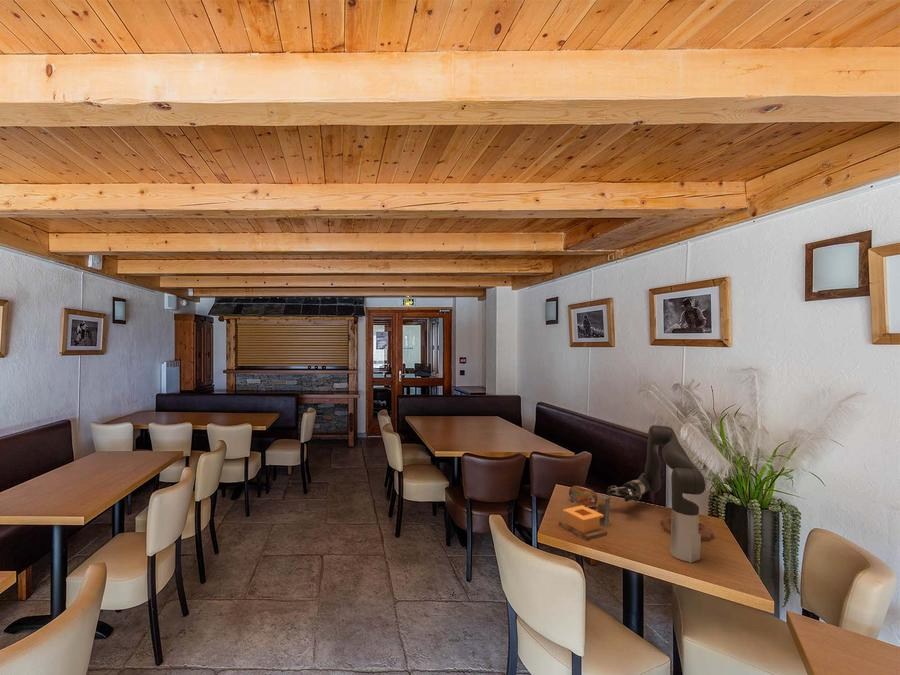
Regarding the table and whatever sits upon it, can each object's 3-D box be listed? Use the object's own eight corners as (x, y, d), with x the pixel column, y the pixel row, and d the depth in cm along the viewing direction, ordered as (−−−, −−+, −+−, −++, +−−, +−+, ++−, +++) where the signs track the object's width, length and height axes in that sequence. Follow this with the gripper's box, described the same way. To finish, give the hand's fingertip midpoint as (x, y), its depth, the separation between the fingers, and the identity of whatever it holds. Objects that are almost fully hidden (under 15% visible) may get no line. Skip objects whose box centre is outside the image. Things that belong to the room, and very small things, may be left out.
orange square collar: (603, 529, 183) (603, 514, 183) (583, 534, 177) (583, 519, 177) (581, 518, 194) (582, 505, 194) (562, 523, 188) (562, 509, 188)
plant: (719, 545, 176) (719, 518, 176) (666, 537, 182) (666, 510, 182) (707, 526, 194) (707, 501, 195) (659, 519, 201) (660, 495, 201)
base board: (607, 534, 181) (607, 530, 182) (587, 540, 175) (587, 536, 176) (578, 520, 195) (578, 516, 195) (558, 525, 189) (559, 521, 189)
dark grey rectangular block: (609, 524, 192) (609, 497, 192) (604, 526, 189) (605, 499, 189) (601, 521, 194) (602, 495, 195) (597, 523, 192) (598, 496, 192)
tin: (568, 500, 220) (568, 484, 220) (571, 499, 222) (572, 482, 222) (594, 510, 208) (595, 492, 208) (598, 508, 210) (598, 491, 210)
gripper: (620, 477, 215) (602, 483, 205) (648, 485, 204) (631, 492, 194) (619, 492, 215) (602, 499, 205) (647, 501, 204) (631, 509, 194)
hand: (616, 496), depth 199 cm, fingers open, 8 cm apart
